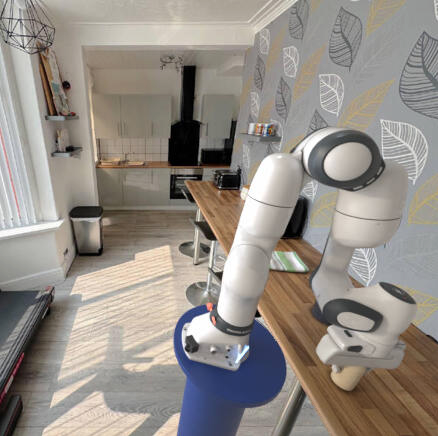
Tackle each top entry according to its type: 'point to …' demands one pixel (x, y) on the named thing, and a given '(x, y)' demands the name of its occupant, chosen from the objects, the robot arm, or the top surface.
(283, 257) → the dish towel
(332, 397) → the top surface
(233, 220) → the top surface
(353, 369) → the candle
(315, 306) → the holder
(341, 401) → the top surface
